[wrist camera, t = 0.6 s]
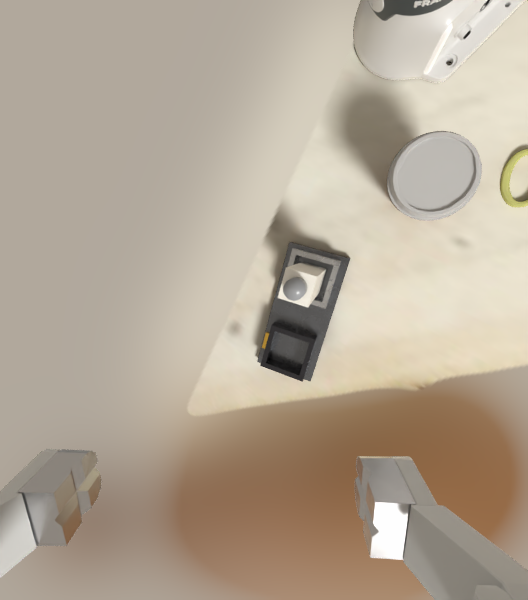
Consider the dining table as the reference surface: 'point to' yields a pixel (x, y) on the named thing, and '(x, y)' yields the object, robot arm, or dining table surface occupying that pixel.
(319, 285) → the plug
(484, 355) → the dining table surface
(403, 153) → the disposable coffee cup
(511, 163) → the key
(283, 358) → the panel
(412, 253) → the dining table surface
